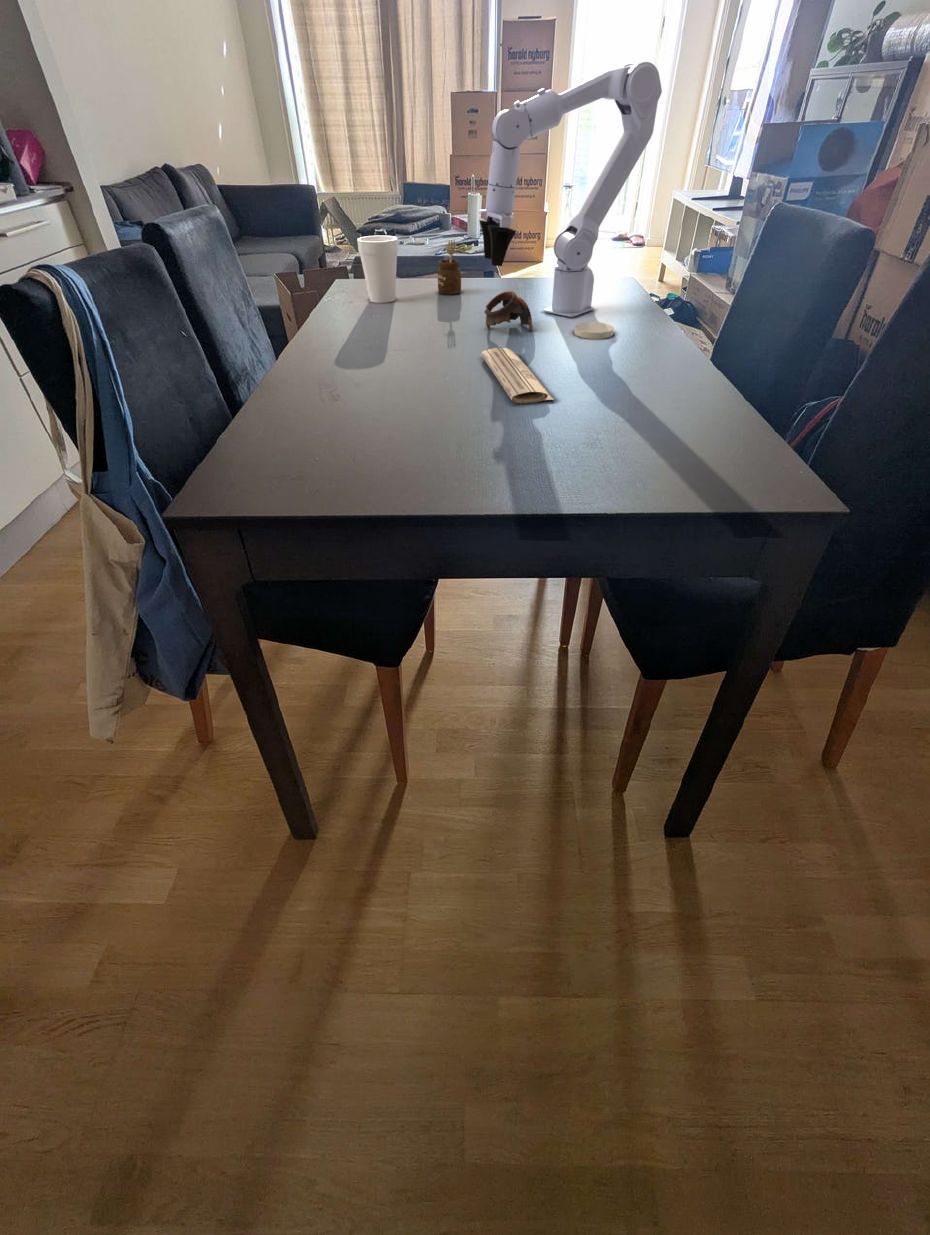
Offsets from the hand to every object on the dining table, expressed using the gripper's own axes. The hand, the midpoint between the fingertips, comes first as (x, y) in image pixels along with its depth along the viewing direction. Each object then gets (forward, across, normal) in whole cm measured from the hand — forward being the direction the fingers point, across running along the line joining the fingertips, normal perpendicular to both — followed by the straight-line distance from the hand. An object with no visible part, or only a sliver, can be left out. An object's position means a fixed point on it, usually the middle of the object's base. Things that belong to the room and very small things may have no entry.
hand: (493, 262), depth 133 cm
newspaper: (+11, +42, -4) cm, 43 cm away
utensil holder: (+12, -24, -5) cm, 27 cm away
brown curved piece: (+11, +11, +3) cm, 16 cm away
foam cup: (+14, -20, -22) cm, 33 cm away
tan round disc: (+8, +19, +19) cm, 28 cm away
